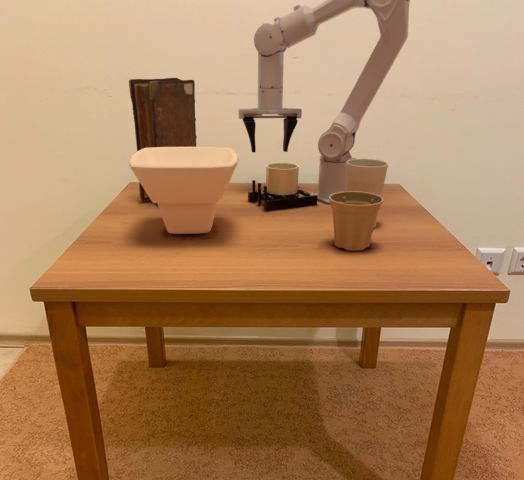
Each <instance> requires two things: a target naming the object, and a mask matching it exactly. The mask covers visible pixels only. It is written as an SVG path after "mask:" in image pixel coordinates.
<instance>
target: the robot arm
mask: <svg viewBox="0 0 524 480" xmlns="http://www.w3.org/2000/svg"><path fill="white" fill-rule="evenodd" d="M410 3H411V0H325V1H323V2H321V3H320V4H318V5H316V6H314V7H312V6H309V5H307V4H303V5H301V4H296V5H295V6H293V8H292V9H293V11H290V12H289V13H287V14H285V15H284V16H281V17H279V16H277V17H274V19H273V24H272V23H270V22H269V23H268V22H265V23H264V22H263V23H262V24H261V25H260V26H258V28H257V29H256V31H255V33H254V36H253V44H254V48H255V49H256V51H257V107H252V108H251V107H250V108H238V109H237V114H238V115H237V118H238V120H242V122H243V125H244V127H245V129H246V132H247V135H248V138H249V142H250V150H251V153H256V151H257V150H256V148H257V147H256V126H257V125H256V119H282V120H283V141H282V142H283V143H282V151H283V153H287V152H288V151H289V150H288V149H289V146H290V142H291V138H292V136H293V133H294V131H295V129H296V127H297V125H298V119H302V115H303V114H302V113H303V110H302V108H294V107H293V108H289V107H283V101H284V67H285V66H284V65H285V64H284V61H285V60H284V57H285V52H286V51H287V49H290V48H291V47H294V46H296V45H298V44H300V43H302V42H304V41H306V40H308V39H309V38H311V37H314V36H315V35H316V34H317V31H318V30H319V27H320V25H322V24H324V23H327V22H328V21H331V20H332V19H335V18H336V17H339V16H341V15H344V14H346V13H347V12H350V11H352V10H354V9H365V10H371V11H372V13H373V14H374V16H375V17H376V22H377V25H378V30H379V33H380V35H379V36H380V37H379V39H378V41H377V42H376V44H375V46H374V48H373V50H372V52H371V54H370V56H369V58H368V60H367V61H366V63H365V65H364V67H363V69H362V71H361V73H360V74H359V77H358V78H357V80H356V82H355V84H354V86H353V87H352V89H351V91H350V93H349V95H348V97H347V99H346V101H345V103H344V105H343V107H342V108H341V110H340V112H339V113H338V115H337V116H336V117H335V119H334V120H333V122H331V125H330V127H328V129H327V130H326V131H323V132H322V134H321V135H320V137H319V138H318V142H317V149H318V152H319V154H320V156H319V164H318V178H317V179H318V180H317V181H318V182H317V192H312V193H309V194H310V195H318V198H317V200H319V201H321V202H323V203H326V204H331V201H330V200H329V196H330V195H331V194H333V193H337V192H344V191H346V161H348V160H352V159H357V158H356V157H352V155H351V150H352V149H353V148H354V145H355V142H356V135H357V132H358V130H359V128H360V125H361V121H362V120H363V118H364V116H365V115H366V112H367V111H368V109H369V107H370V106H371V104H372V102H373V101H374V99H375V97H376V95H377V93H378V91H379V90H380V87H381V86H382V84H383V82H384V81H385V78H386V77H387V76H388V74H389V72H390V70H391V68H392V66H393V65H394V63H395V61H396V59H397V57H398V56H399V54H400V52H401V50H402V48H403V47H404V45H405V43H406V42H407V39H408V37H409V17H410V14H409V13H410Z"/></svg>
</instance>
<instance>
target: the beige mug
mask: <svg viewBox="0 0 524 480" xmlns="http://www.w3.org/2000/svg"><path fill="white" fill-rule="evenodd" d="M299 169H300V167H299V165H298V164H295V163H292V162H291V163H290V162H272V163H271V162H268V163H267V164H266V165H265V186H267V193H270V194H274V195H291V194H295V193H297V191H298V187H299V173H300V172H299Z"/></svg>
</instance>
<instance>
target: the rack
mask: <svg viewBox="0 0 524 480" xmlns="http://www.w3.org/2000/svg"><path fill="white" fill-rule="evenodd" d="M251 183H252V184H251V186H252V187H251V190H250V191H247V201H248V202H249V203H252V204H256V202H257V206H258V207H262V202H263V210H264V212H273V211H281V210H289V209H298V208H304V207H314V206H318V199H317V198H318V195H310V194H311V193H309V192H308V191H305V190H304V189H300V187H299V186H298V191H297V193H295V194H291V195H274V194H270V193H267V186H266V185H264V186H263V189H262V183H261V182H257V189H256V180H255V179H252V181H251Z"/></svg>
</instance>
